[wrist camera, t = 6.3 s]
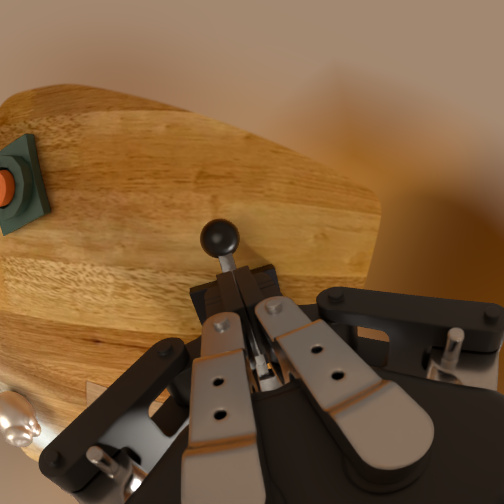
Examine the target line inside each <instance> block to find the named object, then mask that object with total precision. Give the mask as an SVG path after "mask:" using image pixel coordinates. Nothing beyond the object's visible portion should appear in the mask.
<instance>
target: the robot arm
mask: <svg viewBox="0 0 504 504" xmlns="http://www.w3.org/2000/svg"><path fill="white" fill-rule="evenodd" d="M233 274H234V277H235V280H234V277H233ZM233 274H232V272H231V271H228V272H225V273H221V274H218V275H216V277H217V282H218V285H217V286H214V287H211V288H208V289H207V291H206V292H205V294H204V298H205V308H206V318H207V320H206V321H205V322H204V323H203V325H202V335H201V336H200V337H198V338H197V339H195V340H193V341H191V342H189V343H187V344H184V342H183V341H182V340H181V339H179V338H167V339H163V340H161V341H159V342H157V343H156V344H154V345H153V346H152V347H151V348H150V349H149V350H148V351H147V352H146V353H145V354H143V355H142V356H141V357H140V358H139V359H138V360H137V361H136V362H135V363H134V364H133V365H132V366H131V367H130V368H129V369H128V370H127V371H126V372H124V373H123V374H122V375H121V376H120V377H119V378H118V379H117V380H116V381H115V382H114V383H113V384H112V385H111V386H110V387H109V388H108V389H107V390H106V391H104V392H103V393H102V394H101V395H100V396H99V397H98V398H97V399H96V400H95V401H94V402H93V403H92V404H91V405H90V406H89V407H88V408H87V409H85V410H84V411H83V412H82V413H81V414H80V415H79V416H78V417H77V418H76V419H75V420H74V421H73V422H72V423H71V424H70V425H69V426H68V427H67V428H65V429H64V430H63V431H62V432H61V433H60V434H59V435H58V436H57V437H56V438H55V439H54V440H53V441H52V442H51V443H50V444H49V445H48V446H46V447H45V449H44V450H43V451H42V453H41V455H40V457H39V468H40V471H41V472H42V474H43V475H44V476H46V477H47V478H49V479H50V480H51V481H52V482H54V483H55V484H57V485H58V486H59V487H60V488H61V489H62V490H64V491H65V492H67V493H68V494H70V495H71V496H73V497H74V498H75V499H76V500H77V501H78V502H79V503H80V504H504V395H503V394H501V393H499V392H497V382H498V359H499V351H500V349H501V346H502V343H503V341H504V308H503V307H502V306H500V305H497V304H494V303H484V302H474V301H463V300H453V299H443V298H434V297H424V296H415V295H405V294H397V293H389V292H380V291H372V290H364V289H356V288H348V287H332V288H328V289H326V290H324V291H322V292H321V293H320V294H319V295H318V296H317V298H316V301H317V303H316V304H309V305H296V304H295V303H294V302H293V301H292V300H291V299H290V298H288V297H285V296H283V295H282V294H281V292H280V291H279V289H278V288H277V286H276V285H275V283H274V282H273V281H272V279H271V277H270V276H269V275H268V274H265V273H263V272H260V273H257V274H253V275H252V273H251V271H250V269H249V267H248V266H244V267H241V268H238V269H234V270H233ZM235 281H236V283H235ZM236 284H237V286H236ZM357 326H360V327H364V328H370V329H376V330H381V331H383V332H385V333H386V334H387V335H388V336H389V340H390V342H385V341H380V340H374V339H369V338H363V337H358V335H357ZM250 327H251V328H250ZM251 330H252V331H251ZM252 332H253V334H252ZM253 335H254V337H253ZM254 338H255V340H254ZM255 341H256V343H257V346H258V349H259V351H260V354H261V355H262V354H265V353H266V354H267V356H268V359H269V363H270V366H271V369H272V370H273V372H274V374H275V376H276V378H277V380H278V381H279V383H280V385H281V387H279V388H277V389H275V390H270V391H262V389H261V384H260V380H259V375H258V371H257V368H256V360H255V357H256V356H259V353H258V350H257V347H256V344H255ZM165 388H167V390H168V392H169V393H170V396H169V398H168V399H167V400H166V401H165V402H164V403H163V404H162V405H161V407H160V408H159V409H158V410H157V411H156V412H155V413H154V414H153V416H152V417H151V418H150V416H149V407H150V405H151V404H152V402H153V401H154V400H155V399H156V398H157V397H158V396H159V395H160V394H161V393H162V391H163V390H164V389H165Z"/></svg>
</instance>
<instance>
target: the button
mask: <svg viewBox="0 0 504 504" xmlns="http://www.w3.org/2000/svg"><path fill="white" fill-rule="evenodd" d="M14 193H15V181H14V177H13V175H12V174H11V173H10V172H9V171H7V170H0V207H1V206H4V205H7V204H9V203H10V202H11V200H12V199H13V196H14Z"/></svg>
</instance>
